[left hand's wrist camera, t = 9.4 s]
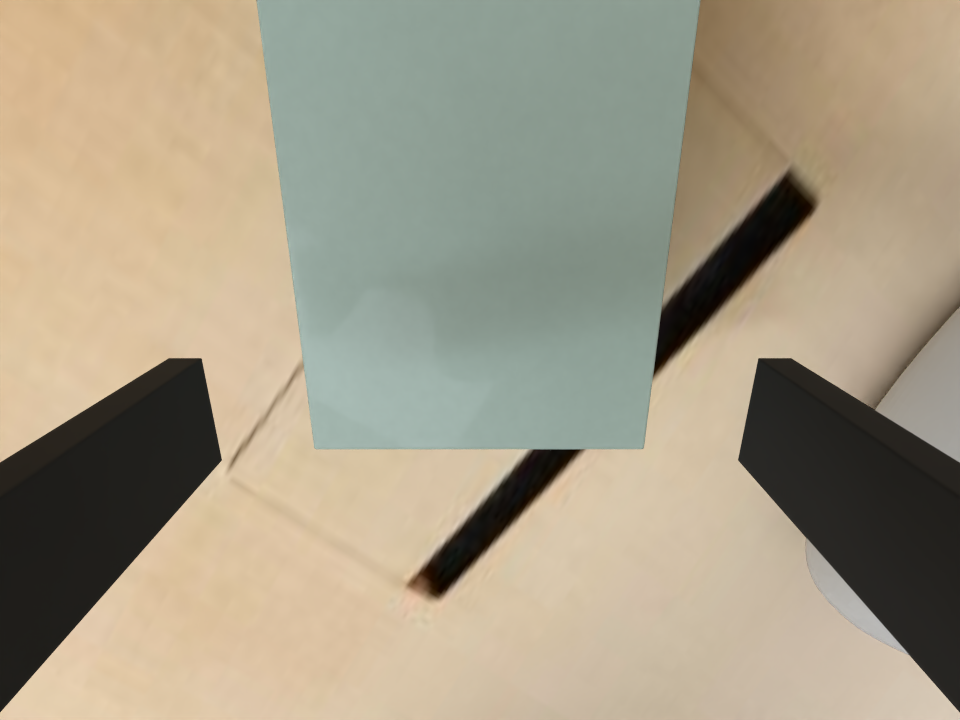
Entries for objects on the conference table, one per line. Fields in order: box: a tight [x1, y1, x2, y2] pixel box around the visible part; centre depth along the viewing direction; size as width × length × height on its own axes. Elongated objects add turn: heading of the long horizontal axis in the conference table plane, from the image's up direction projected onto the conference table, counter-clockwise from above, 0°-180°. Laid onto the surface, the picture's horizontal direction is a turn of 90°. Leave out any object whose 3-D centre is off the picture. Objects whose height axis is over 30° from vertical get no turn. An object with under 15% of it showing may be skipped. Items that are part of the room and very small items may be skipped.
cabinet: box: [257, 0, 700, 449], centre depth 20 cm, size 20×12×10 cm, turn 0°
